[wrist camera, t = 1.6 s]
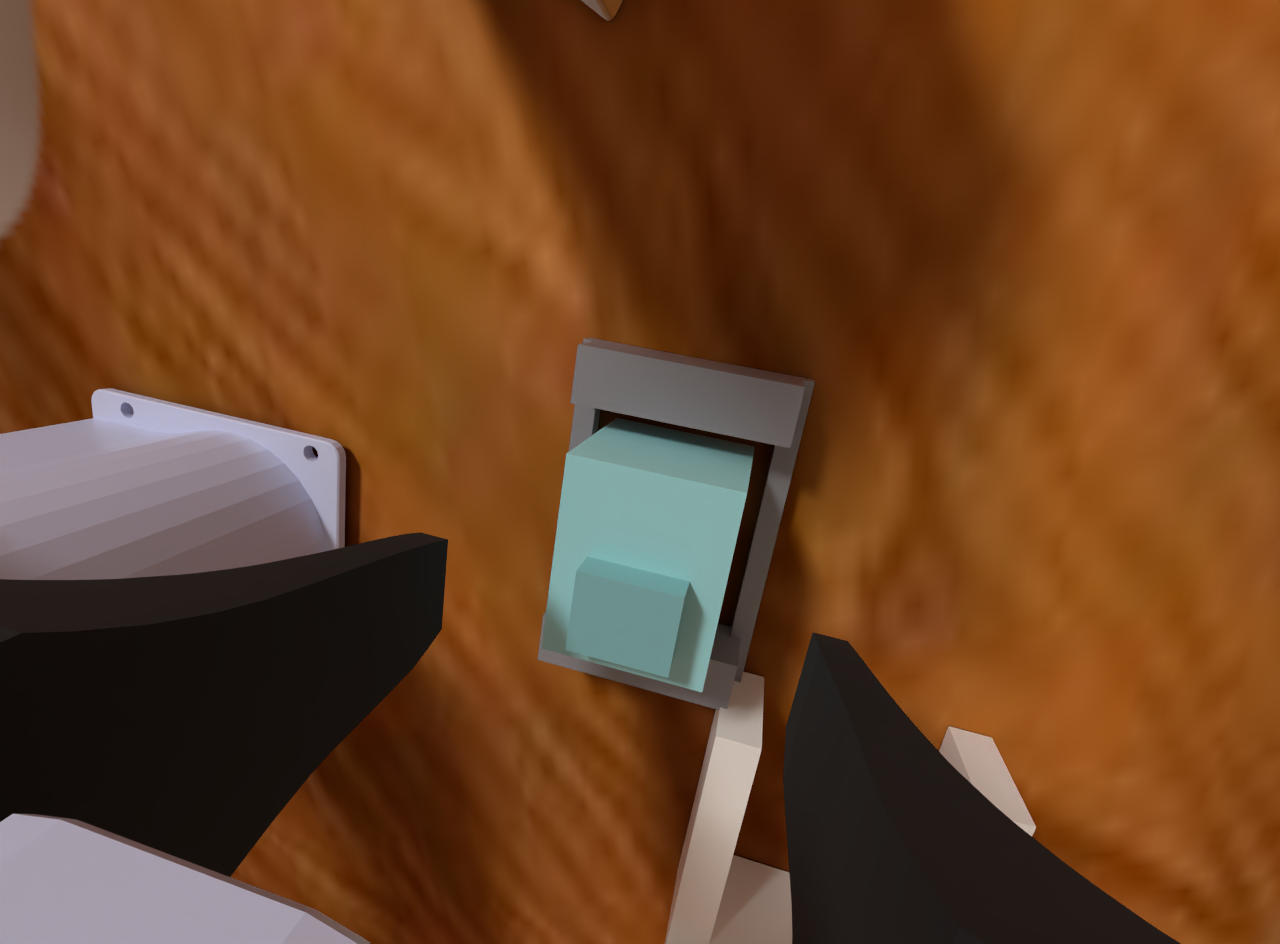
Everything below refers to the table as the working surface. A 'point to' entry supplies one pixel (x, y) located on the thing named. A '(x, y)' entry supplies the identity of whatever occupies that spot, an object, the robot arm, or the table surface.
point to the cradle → (709, 404)
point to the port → (708, 871)
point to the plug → (645, 549)
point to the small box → (604, 7)
